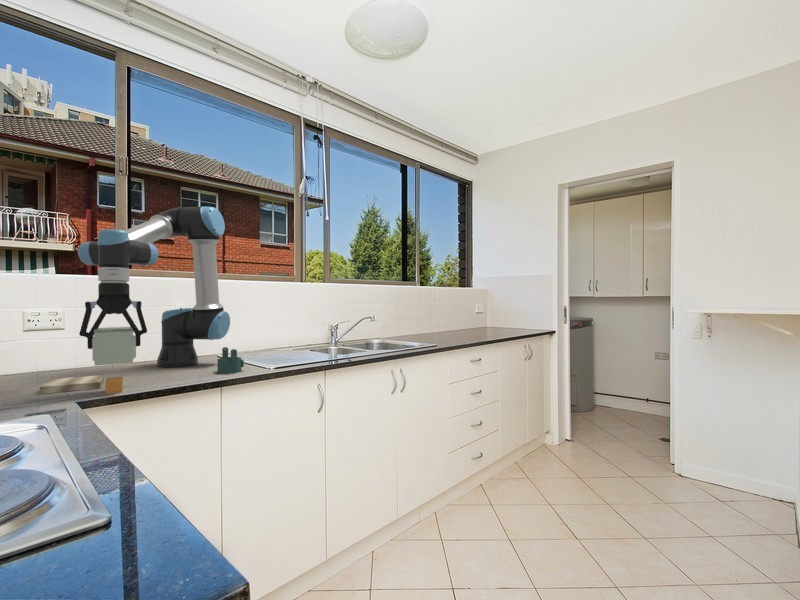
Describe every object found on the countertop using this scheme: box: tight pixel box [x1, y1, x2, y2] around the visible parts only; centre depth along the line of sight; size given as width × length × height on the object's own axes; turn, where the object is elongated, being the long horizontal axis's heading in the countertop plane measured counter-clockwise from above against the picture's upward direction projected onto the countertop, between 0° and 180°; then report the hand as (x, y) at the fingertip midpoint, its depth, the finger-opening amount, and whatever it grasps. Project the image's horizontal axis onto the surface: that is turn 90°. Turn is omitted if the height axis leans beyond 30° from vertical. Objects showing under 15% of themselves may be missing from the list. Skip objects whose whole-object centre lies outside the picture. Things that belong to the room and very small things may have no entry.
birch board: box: [39, 374, 105, 395], centre depth 128 cm, size 14×14×2 cm
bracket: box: [217, 346, 245, 375], centre depth 156 cm, size 9×9×9 cm
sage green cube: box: [93, 326, 135, 367], centre depth 122 cm, size 9×9×10 cm
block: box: [104, 376, 124, 394], centre depth 122 cm, size 4×4×4 cm
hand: (115, 358), depth 122 cm, fingers closed on sage green cube, 9 cm apart
